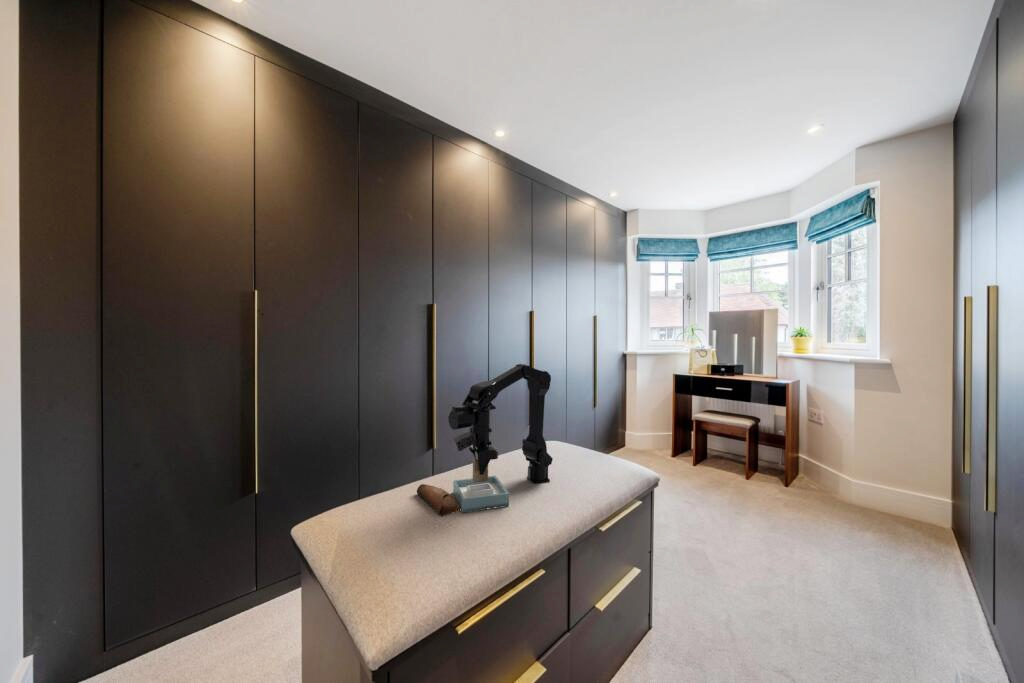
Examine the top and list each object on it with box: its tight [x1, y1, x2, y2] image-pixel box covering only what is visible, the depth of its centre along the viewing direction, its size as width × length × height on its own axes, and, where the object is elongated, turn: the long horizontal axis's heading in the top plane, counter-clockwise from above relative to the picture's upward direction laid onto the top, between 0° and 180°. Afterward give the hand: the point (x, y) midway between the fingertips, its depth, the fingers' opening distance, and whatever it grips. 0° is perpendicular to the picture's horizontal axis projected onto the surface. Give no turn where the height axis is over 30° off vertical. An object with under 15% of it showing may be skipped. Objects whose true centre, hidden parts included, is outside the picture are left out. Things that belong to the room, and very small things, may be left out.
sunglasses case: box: [416, 483, 461, 517], centre depth 118 cm, size 18×7×7 cm
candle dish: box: [452, 475, 510, 514], centre depth 121 cm, size 15×15×4 cm
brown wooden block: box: [472, 455, 489, 483], centre depth 120 cm, size 4×2×8 cm, turn 109°
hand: (480, 472), depth 121 cm, fingers closed on brown wooden block, 2 cm apart
